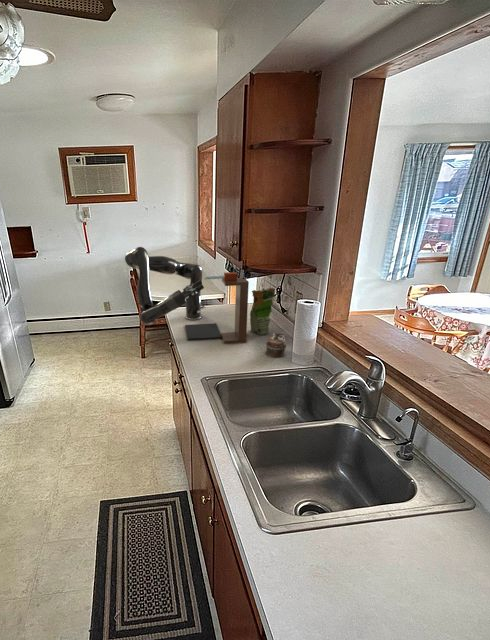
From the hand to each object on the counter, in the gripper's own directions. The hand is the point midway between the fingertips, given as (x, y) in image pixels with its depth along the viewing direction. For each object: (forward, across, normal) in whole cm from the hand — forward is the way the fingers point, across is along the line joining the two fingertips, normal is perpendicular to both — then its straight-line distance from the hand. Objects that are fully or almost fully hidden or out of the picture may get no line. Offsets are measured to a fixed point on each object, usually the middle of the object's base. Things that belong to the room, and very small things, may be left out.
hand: (202, 283), depth 196 cm
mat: (-14, +12, +27) cm, 33 cm away
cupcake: (+13, -22, +43) cm, 50 cm away
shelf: (-1, 0, +35) cm, 35 cm away
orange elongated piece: (+9, 0, +3) cm, 9 cm away
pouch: (+13, +8, +43) cm, 46 cm away
